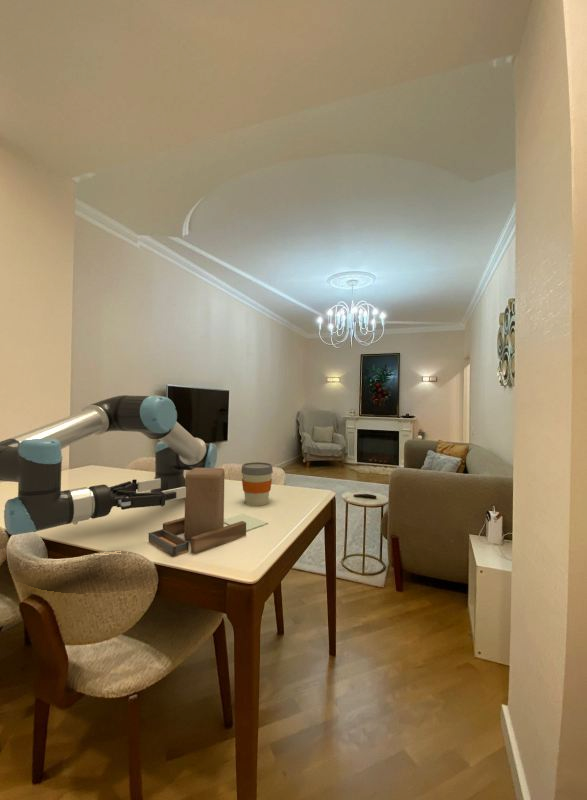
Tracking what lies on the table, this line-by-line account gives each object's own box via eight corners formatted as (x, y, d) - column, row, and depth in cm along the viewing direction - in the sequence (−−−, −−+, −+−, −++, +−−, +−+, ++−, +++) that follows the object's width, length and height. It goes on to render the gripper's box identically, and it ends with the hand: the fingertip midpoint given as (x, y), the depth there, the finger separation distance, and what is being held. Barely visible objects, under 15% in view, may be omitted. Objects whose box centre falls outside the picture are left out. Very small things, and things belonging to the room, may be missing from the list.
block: (217, 543, 103) (218, 474, 103) (183, 542, 103) (184, 474, 103) (224, 530, 113) (225, 467, 113) (192, 529, 113) (193, 467, 113)
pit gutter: (148, 541, 103) (148, 533, 103) (163, 537, 107) (163, 528, 107) (173, 556, 94) (173, 547, 94) (188, 551, 97) (188, 542, 97)
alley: (162, 536, 107) (162, 523, 107) (212, 521, 121) (212, 509, 121) (194, 554, 96) (195, 539, 96) (246, 535, 109) (246, 522, 109)
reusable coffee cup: (261, 496, 152) (262, 461, 152) (278, 503, 142) (278, 466, 141) (235, 500, 144) (235, 464, 144) (250, 509, 134) (251, 469, 134)
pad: (220, 521, 120) (220, 520, 120) (242, 514, 128) (242, 513, 128) (245, 532, 112) (245, 530, 112) (267, 523, 119) (267, 522, 119)
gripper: (71, 507, 92) (150, 492, 108) (110, 532, 75) (196, 510, 91) (72, 478, 92) (151, 467, 108) (110, 497, 75) (197, 481, 91)
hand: (172, 487), depth 100 cm, fingers open, 13 cm apart
